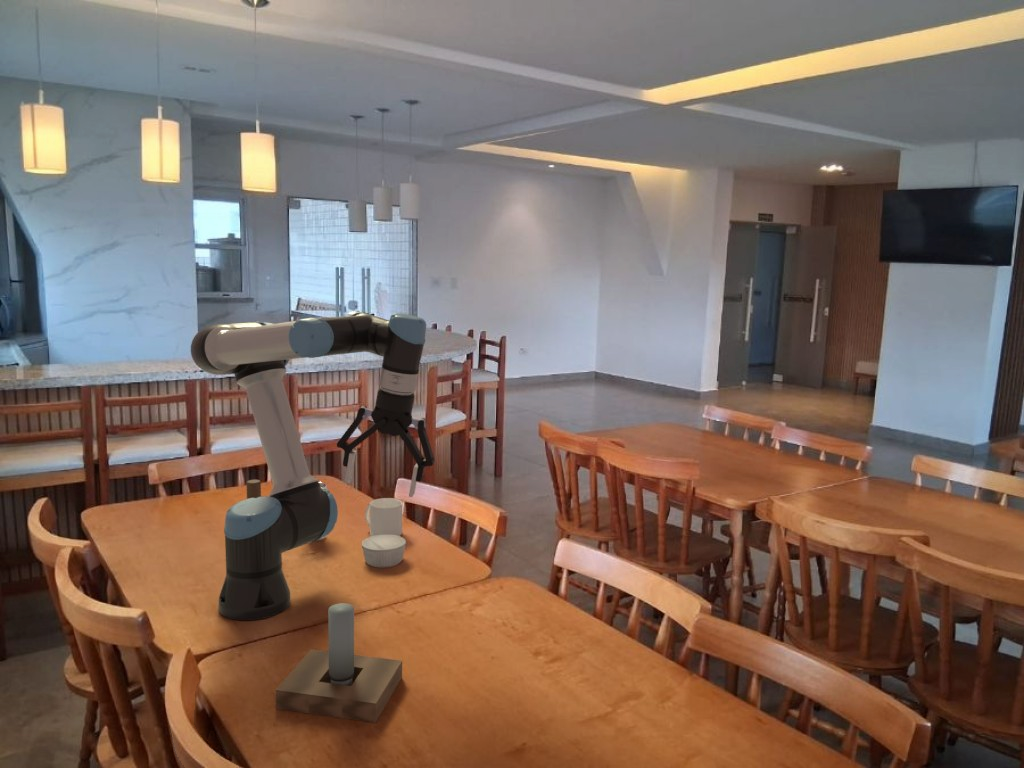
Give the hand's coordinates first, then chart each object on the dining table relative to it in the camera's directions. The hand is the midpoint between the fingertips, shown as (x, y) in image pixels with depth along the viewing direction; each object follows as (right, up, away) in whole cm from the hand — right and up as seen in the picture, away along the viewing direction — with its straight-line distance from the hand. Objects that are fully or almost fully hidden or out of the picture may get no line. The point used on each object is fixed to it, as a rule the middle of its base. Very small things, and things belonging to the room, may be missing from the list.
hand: (379, 488), depth 156 cm
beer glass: (-27, -21, +52) cm, 63 cm away
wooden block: (-39, -22, +42) cm, 62 cm away
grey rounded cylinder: (-3, -34, -22) cm, 40 cm away
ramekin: (-6, -24, +38) cm, 45 cm away
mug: (-9, -21, +57) cm, 62 cm away
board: (-3, -34, -22) cm, 40 cm away
